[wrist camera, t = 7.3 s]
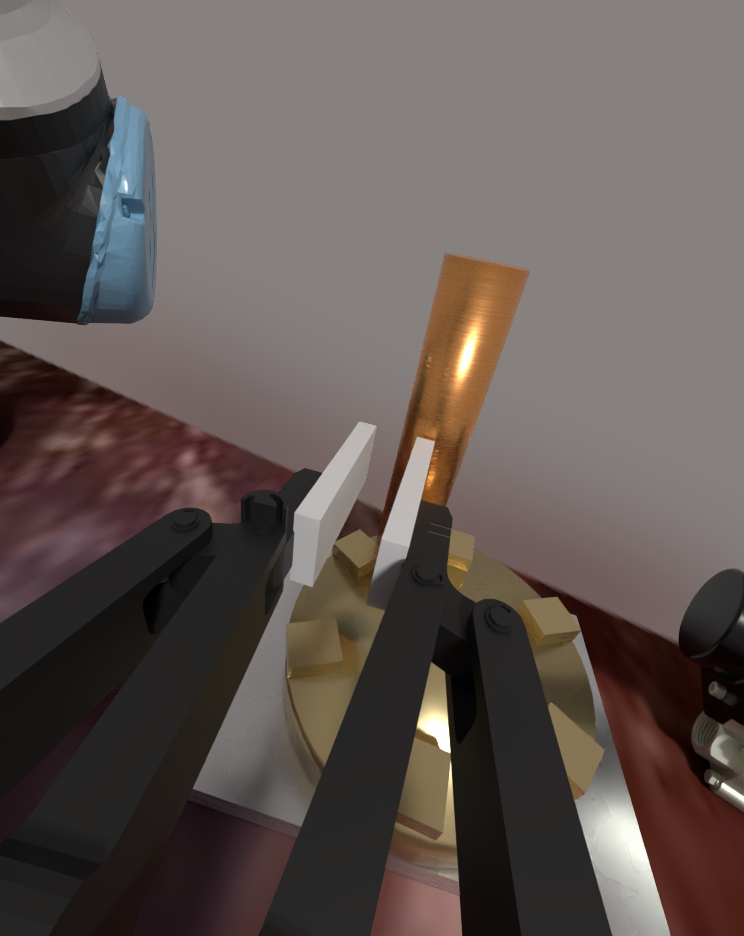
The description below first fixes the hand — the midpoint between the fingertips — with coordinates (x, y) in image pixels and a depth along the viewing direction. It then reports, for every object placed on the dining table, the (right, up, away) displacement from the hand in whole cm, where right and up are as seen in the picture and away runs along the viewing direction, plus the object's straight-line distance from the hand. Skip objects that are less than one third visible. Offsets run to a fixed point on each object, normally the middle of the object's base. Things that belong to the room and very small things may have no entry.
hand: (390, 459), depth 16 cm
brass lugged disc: (+2, -10, +2) cm, 10 cm away
